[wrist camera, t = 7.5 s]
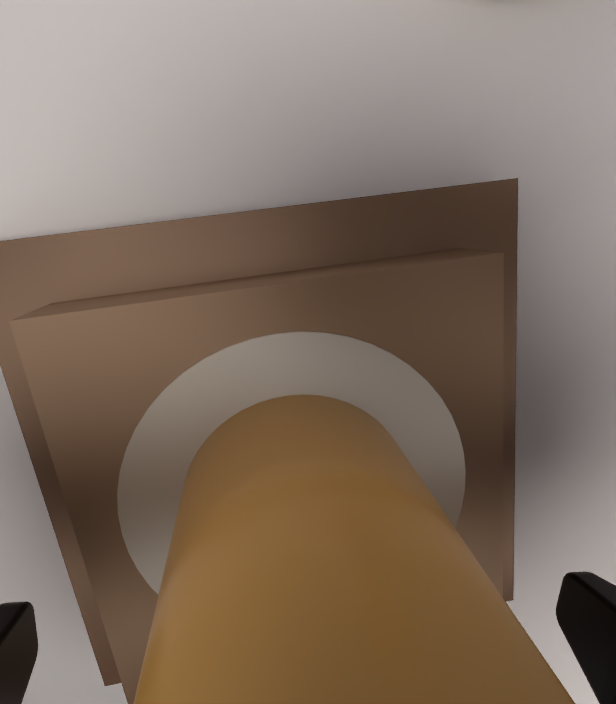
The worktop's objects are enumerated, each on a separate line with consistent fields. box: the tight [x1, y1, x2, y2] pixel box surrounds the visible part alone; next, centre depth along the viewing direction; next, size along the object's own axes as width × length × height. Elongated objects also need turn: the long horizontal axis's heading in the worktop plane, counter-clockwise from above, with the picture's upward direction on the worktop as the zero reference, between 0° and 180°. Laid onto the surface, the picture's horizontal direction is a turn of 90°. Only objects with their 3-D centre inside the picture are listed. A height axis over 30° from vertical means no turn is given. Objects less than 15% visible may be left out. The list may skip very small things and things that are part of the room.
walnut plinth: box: [0, 178, 518, 704], centre depth 12 cm, size 13×13×3 cm
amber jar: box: [133, 394, 575, 704], centre depth 7 cm, size 5×5×8 cm
